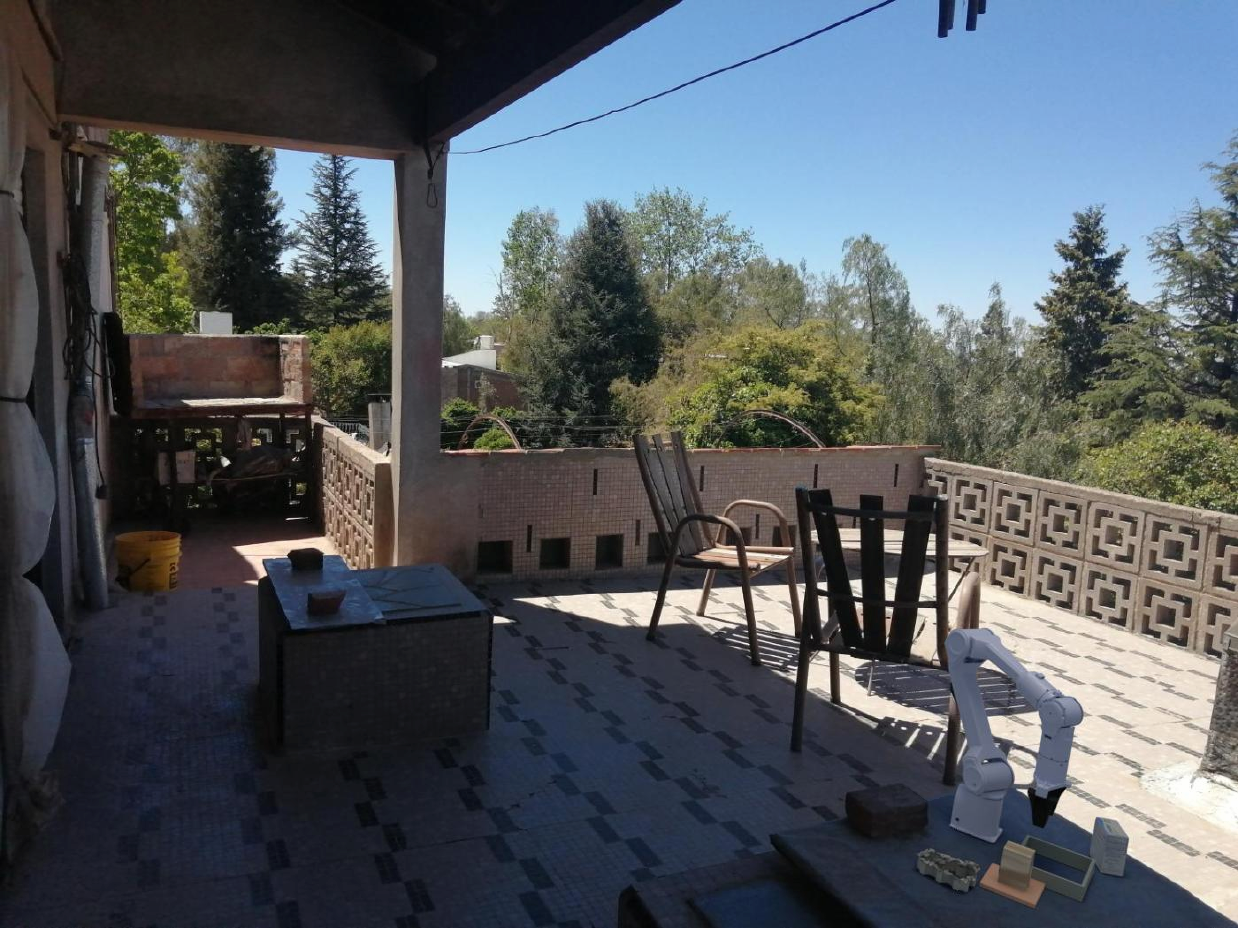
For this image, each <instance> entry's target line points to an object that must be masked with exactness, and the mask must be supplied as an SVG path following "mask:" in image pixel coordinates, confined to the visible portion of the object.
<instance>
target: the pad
mask: <svg viewBox="0 0 1238 928" xmlns="http://www.w3.org/2000/svg"><path fill="white" fill-rule="evenodd" d="M999 867H1000V864H996V863H991V864H990V866H989V867H988V869H987V870H986V872H985V874H984V876H983V877H982V878H981V879H980V882H979V887H981V888H983V889H985V890H988V891H991V892H993V893H995V894H998V895H1000V896H1002V897H1004V898H1007V899H1010V900H1012V901H1013V902H1014V901H1015V902H1017V903H1019V904H1021V905H1024V906H1027V907H1028V908H1032V909H1036V906H1037V904H1038V902H1039V901H1040V899H1041V896H1042V894H1043V892H1044V890H1045V889H1046V888H1045V885H1046V884H1045V883H1042V882H1040V881H1037V880H1035V879H1032V878H1030V883H1029V886H1028V888H1027V890H1026V892H1025V893H1024V892H1022V891H1019V890H1017V889H1014V888H1012V887H1009V886H1007V885H1004V884H1002V883H999V882H998V877H999Z"/></svg>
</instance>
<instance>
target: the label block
mask: <svg viewBox="0 0 1238 928" xmlns="http://www.w3.org/2000/svg"><path fill="white" fill-rule="evenodd" d="M1035 854H1036V853H1035V850H1032V849H1030V848H1027V847H1024V846H1022V845H1021V844H1020V843H1016V842H1013V841H1010V840H1007V842H1006V843H1005V845H1004V847H1003V850H1002V853H1001V856H1000V863H999V866H1000V867H999V877H998V882H999V883H1002V884H1004V885H1007V886H1009V887H1012V888H1014V889H1017V890H1019V891H1022V892H1024V893H1025V892H1026V890H1027V888H1028V886H1029V883H1030V878H1031V872H1032V867H1033V866H1034V859H1035Z"/></svg>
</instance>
